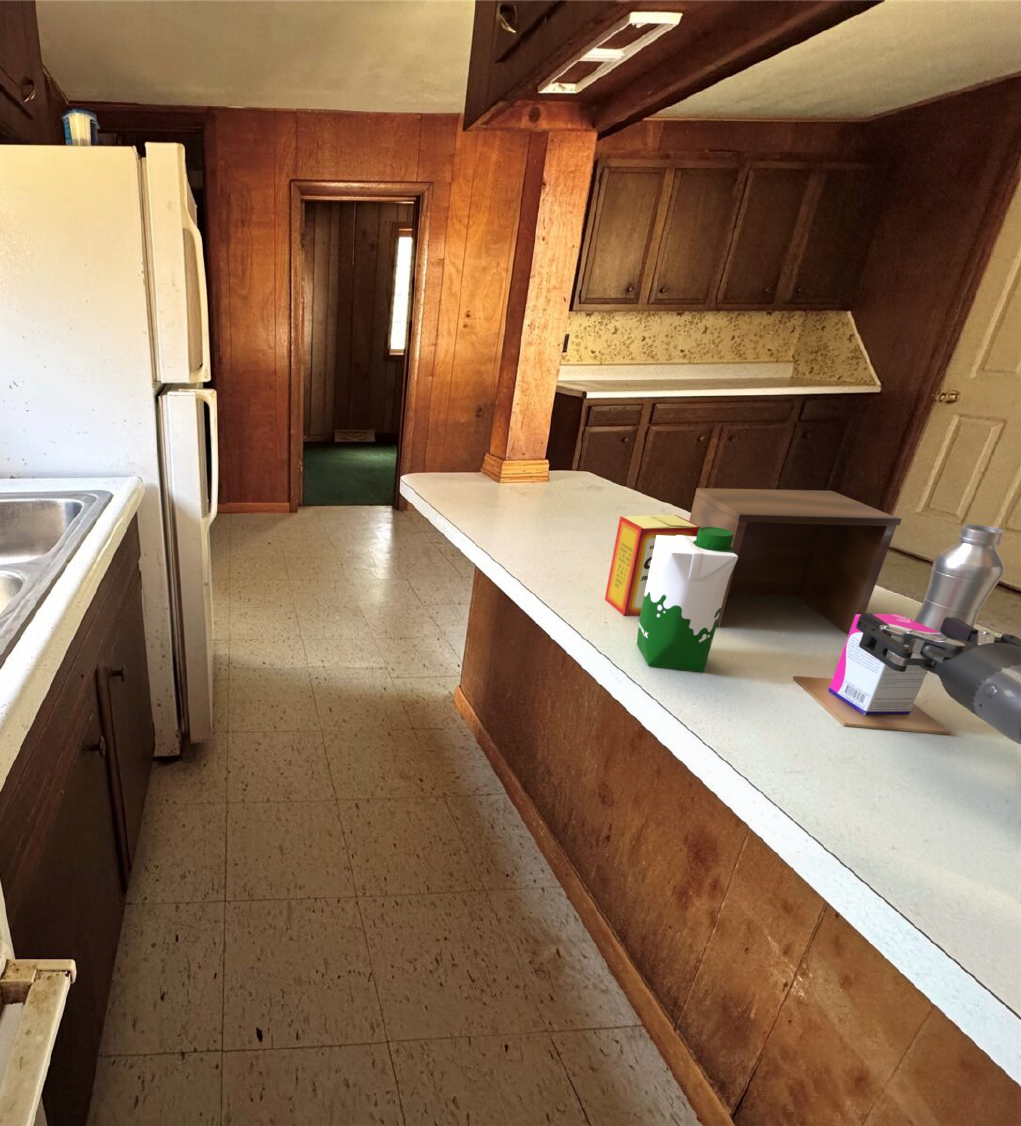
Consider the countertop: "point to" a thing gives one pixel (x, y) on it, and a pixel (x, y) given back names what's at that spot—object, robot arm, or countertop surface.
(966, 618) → the silver metal bottle
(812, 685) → the cork mat
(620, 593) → the baking soda box
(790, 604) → the countertop surface
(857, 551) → the cupboard
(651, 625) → the milk carton
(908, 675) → the supplement box
